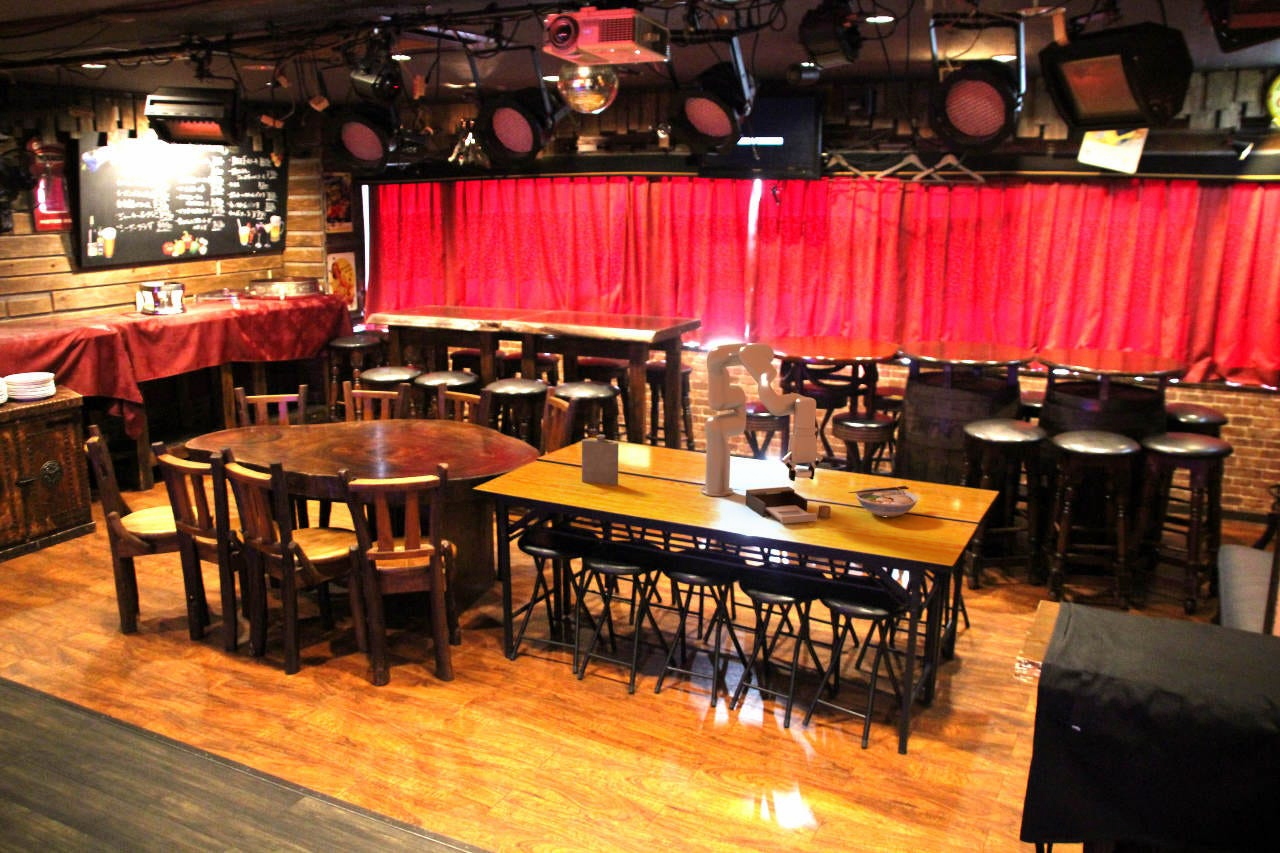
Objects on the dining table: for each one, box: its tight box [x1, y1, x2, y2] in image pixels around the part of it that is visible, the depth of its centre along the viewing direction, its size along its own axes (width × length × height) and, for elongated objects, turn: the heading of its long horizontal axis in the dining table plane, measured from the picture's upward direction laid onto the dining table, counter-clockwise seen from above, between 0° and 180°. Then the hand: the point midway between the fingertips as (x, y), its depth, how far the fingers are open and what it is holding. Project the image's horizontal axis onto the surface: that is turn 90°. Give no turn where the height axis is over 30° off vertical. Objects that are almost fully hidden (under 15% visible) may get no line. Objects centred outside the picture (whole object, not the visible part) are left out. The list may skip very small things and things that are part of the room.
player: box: [745, 486, 808, 518], centre depth 395 cm, size 16×18×6 cm
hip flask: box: [581, 434, 619, 487], centre depth 426 cm, size 16×4×20 cm, turn 68°
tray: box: [765, 505, 818, 524], centre depth 384 cm, size 16×14×2 cm
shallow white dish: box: [794, 468, 812, 479], centre depth 380 cm, size 7×7×2 cm
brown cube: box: [817, 504, 832, 520], centre depth 386 cm, size 4×4×4 cm
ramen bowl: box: [848, 485, 919, 518], centre depth 390 cm, size 25×23×8 cm
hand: (801, 478), depth 380 cm, fingers closed on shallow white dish, 6 cm apart
